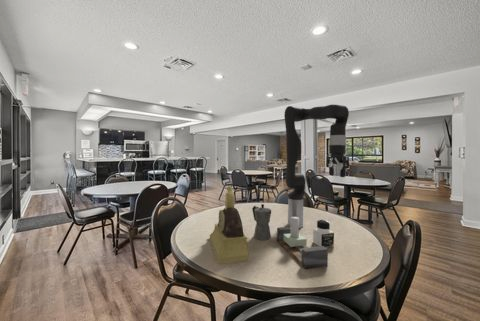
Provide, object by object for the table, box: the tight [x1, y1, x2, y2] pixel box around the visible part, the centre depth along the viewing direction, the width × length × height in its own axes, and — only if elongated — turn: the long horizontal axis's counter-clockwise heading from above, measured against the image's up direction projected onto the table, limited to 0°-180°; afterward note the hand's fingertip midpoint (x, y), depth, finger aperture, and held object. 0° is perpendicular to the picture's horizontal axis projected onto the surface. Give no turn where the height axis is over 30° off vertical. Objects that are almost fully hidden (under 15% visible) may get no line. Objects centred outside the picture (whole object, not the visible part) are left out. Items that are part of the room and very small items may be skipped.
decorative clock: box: [209, 185, 250, 265], centre depth 103 cm, size 28×13×30 cm, turn 16°
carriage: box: [283, 217, 307, 247], centre depth 103 cm, size 8×8×12 cm
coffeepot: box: [251, 203, 272, 241], centre depth 118 cm, size 15×9×18 cm, turn 33°
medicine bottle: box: [312, 219, 335, 248], centre depth 107 cm, size 7×7×12 cm
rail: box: [276, 226, 329, 270], centre depth 99 cm, size 28×10×7 cm, turn 13°
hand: (336, 176), depth 109 cm, fingers open, 8 cm apart
